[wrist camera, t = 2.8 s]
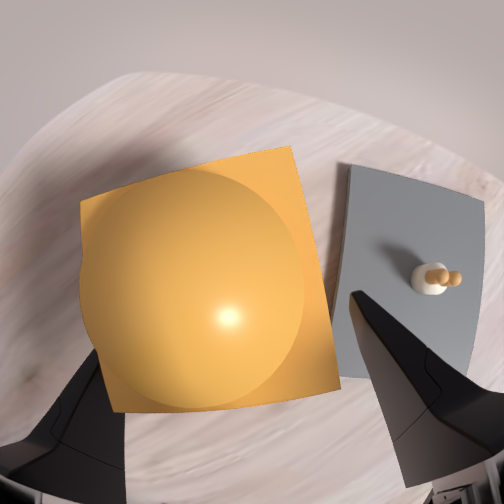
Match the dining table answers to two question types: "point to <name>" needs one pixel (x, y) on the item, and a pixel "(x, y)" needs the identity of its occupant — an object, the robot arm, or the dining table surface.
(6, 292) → the dining table surface
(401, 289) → the plain gray block
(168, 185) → the orange knob block
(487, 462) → the robot arm
